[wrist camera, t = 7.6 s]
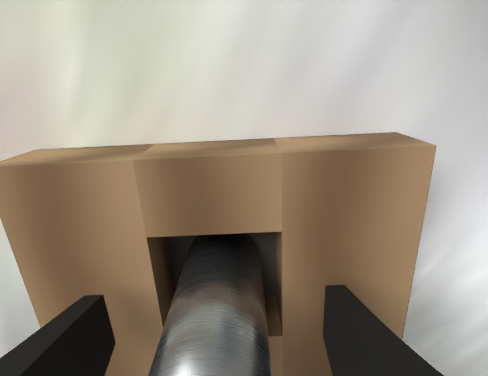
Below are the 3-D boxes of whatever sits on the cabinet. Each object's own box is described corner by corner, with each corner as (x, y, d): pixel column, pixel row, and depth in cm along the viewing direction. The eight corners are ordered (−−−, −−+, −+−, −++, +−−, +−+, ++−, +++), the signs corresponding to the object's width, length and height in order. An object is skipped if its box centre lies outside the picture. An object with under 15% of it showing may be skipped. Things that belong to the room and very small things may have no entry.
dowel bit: (255, 222, 12) (277, 441, 5) (263, 284, 13) (291, 544, 6) (180, 231, 12) (86, 459, 5) (194, 292, 14) (134, 556, 6)
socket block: (396, 132, 11) (436, 145, 9) (370, 332, 15) (394, 381, 12) (35, 149, 11) (-19, 167, 9) (92, 343, 15) (64, 392, 12)
